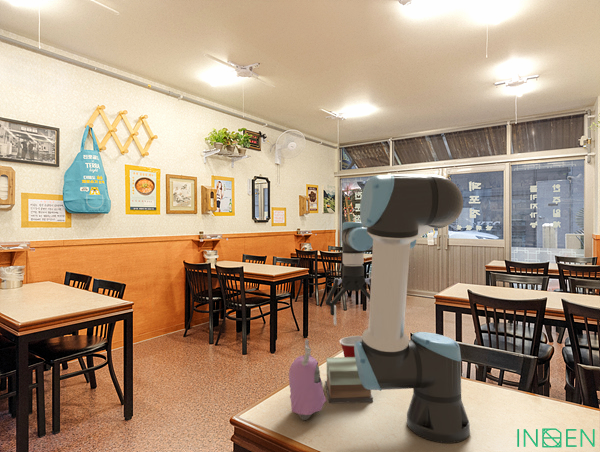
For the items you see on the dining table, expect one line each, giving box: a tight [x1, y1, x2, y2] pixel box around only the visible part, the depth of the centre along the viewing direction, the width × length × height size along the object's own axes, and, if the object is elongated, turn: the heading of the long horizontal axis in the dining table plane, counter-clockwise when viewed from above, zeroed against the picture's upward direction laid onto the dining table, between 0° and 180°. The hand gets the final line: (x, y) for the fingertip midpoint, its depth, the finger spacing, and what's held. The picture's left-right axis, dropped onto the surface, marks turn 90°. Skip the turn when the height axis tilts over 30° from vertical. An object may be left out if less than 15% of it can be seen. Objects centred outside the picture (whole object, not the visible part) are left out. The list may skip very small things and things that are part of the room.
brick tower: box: [324, 356, 374, 404], centre depth 115 cm, size 13×13×9 cm
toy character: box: [288, 339, 327, 421], centre depth 102 cm, size 12×10×20 cm
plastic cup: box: [339, 335, 362, 357], centre depth 132 cm, size 11×11×12 cm
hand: (353, 324), depth 132 cm, fingers open, 13 cm apart
